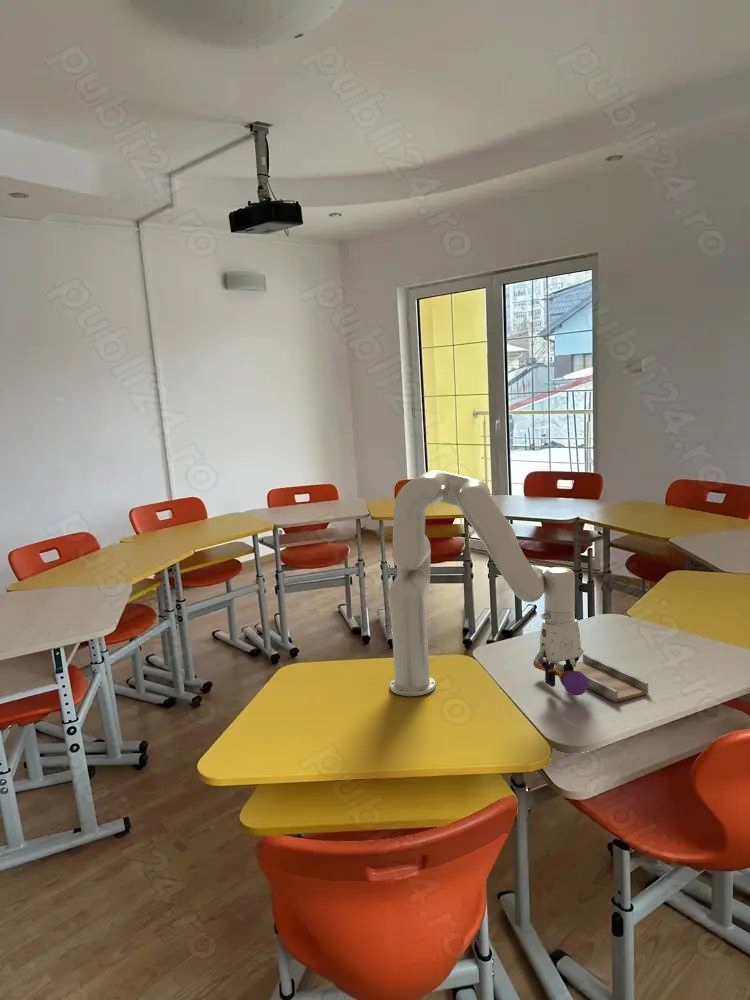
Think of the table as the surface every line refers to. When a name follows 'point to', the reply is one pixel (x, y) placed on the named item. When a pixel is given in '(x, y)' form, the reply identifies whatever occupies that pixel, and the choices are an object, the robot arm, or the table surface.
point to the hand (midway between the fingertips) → (559, 682)
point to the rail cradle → (608, 679)
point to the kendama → (570, 680)
